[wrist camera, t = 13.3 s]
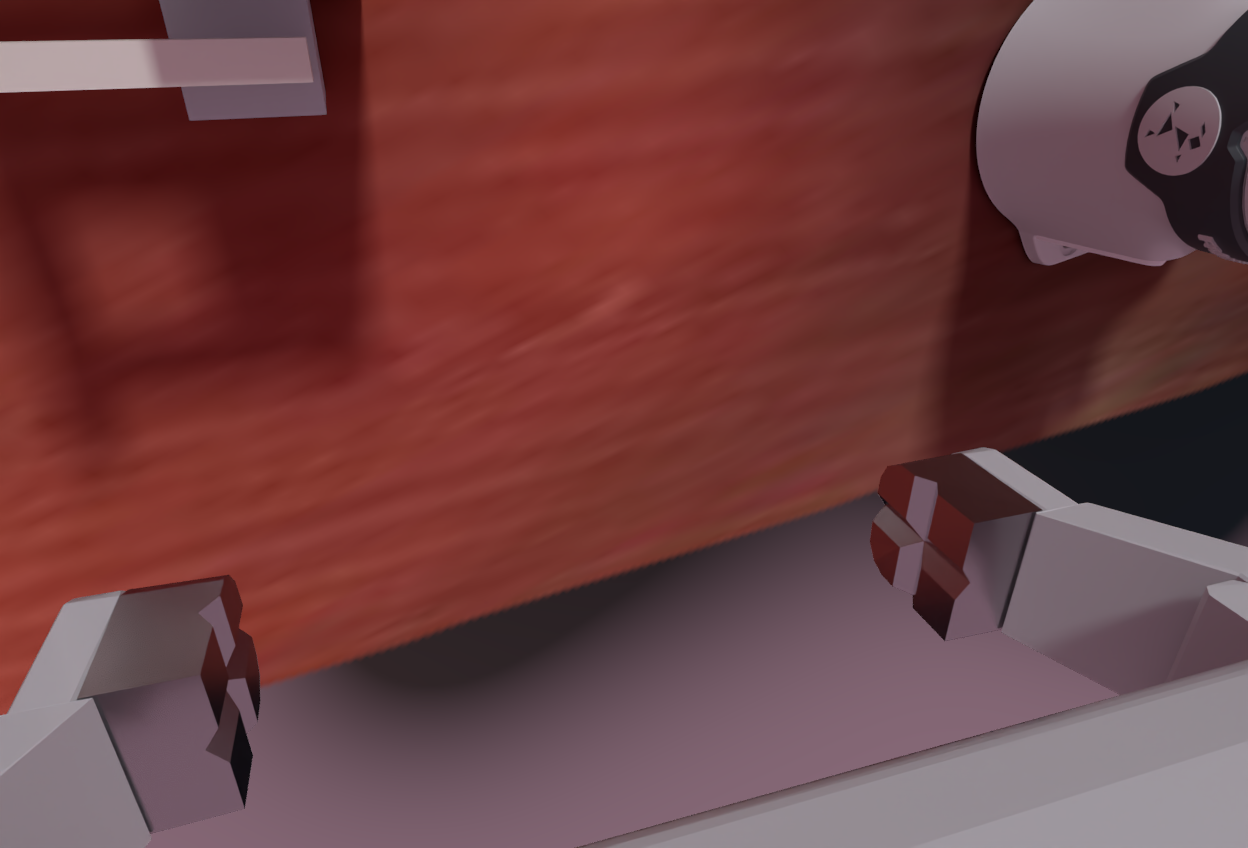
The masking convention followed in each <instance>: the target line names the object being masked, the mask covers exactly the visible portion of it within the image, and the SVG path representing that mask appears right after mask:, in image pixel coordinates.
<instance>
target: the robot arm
mask: <svg viewBox="0 0 1248 848" xmlns="http://www.w3.org/2000/svg"><path fill="white" fill-rule="evenodd" d="M976 150H977V161H978V167H979V172H980V176H981V179H982V183H983V185H984V188H985V190H986V192H987V194H988V196H989V198H990V200H991V201H992V203H993V204H994V205H995V207H996V208H997V209H998V210H999V211H1000V212H1001V213H1002V214H1003V215H1004V216H1005V217H1006V218H1008V219H1009V220H1010V221H1011V222H1012V223H1013V224H1014V225H1015V226H1016V228H1017V229H1018V230H1019V233H1020V237H1021V240H1022V244H1023V247H1024V249H1025V252H1026V254H1027V256H1028V258H1029V259H1030V260H1031V261H1032V262H1034V263H1038V264H1043V265H1054V264H1057V263H1060V262H1063V261H1066V260H1068V259H1071V258H1074V257H1077V256H1080V255H1082V254H1085V253H1088V252H1091V253H1096V254H1100V255H1104V256H1108V257H1113V258H1117V259H1121V260H1125V261H1130V262H1134V263H1138V264H1143V265H1148V266H1161V265H1163V264H1164V263H1165V262H1166V261H1167V260H1173V259H1177V258H1180V257H1183V256H1185V255H1187V254H1189V253H1191V252H1193V251H1195V250H1196V249H1197V250H1200V251H1204V252H1208V253H1212V254H1215V255H1217V256H1218V257H1220V258H1223V259H1226V260H1230V261H1234V262H1238V263H1243V264H1248V0H1034V1H1033V2H1032V3H1031V4H1030V6H1029V7H1028V8H1027V9H1026V10H1025V12H1024V13H1023V14H1022V15H1021V17H1020V18H1019V19H1018V21H1017V22H1016V24H1015V25H1014V27H1013V28H1012V30H1011V31H1010V33H1009V34H1008V36H1007V38H1006V40H1005V41H1004V43H1003V45H1002V47H1001V49H1000V51H999V53H998V55H997V57H996V59H995V61H994V64H993V66H992V68H991V71H990V74H989V76H988V79H987V82H986V85H985V88H984V92H983V96H982V100H981V104H980V109H979V115H978V122H977V134H976ZM878 494H879V496H880V498H881V499H882V501H883V503H884V504H885V506H884V507H883V508H882V510H881V511H880V512H879V513H878V515H877V516H876V517H875V519H874V520H873V523H872V530H871V538H870V544H871V548H872V553H873V558H874V561H875V563H876V565H877V567H878V569H879V571H880V573H881V574H882V576H883V577H884V578H885V579H886V580H887V581H888V582H889V583H890V584H891V585H892V586H893V587H895V588H897V589H900V590H902V591H904V592H907V593H909V594H912V595H913V609H914V610H915V611H916V612H917V613H918V614H919V615H920V616H921V617H922V618H923V619H924V620H925V621H926V622H927V623H928V624H929V625H930V626H931V627H932V628H933V629H934V630H935V631H936V632H937V633H938V634H939V636H941V638H942V639H943V640H944V641H948V640H953V639H957V638H963V637H967V636H972V635H977V634H982V633H987V632H992V631H996V630H1001V629H1002V631H1001V633H1003V634H1005V635H1007V636H1009V637H1011V638H1013V639H1015V640H1016V641H1018V642H1020V643H1022V644H1024V645H1026V646H1028V647H1030V648H1032V649H1033V650H1036V651H1037V652H1039V653H1041V654H1043V655H1045V656H1047V657H1049V658H1051V659H1053V660H1054V661H1056V662H1058V663H1060V664H1062V665H1064V666H1066V667H1068V668H1070V669H1072V670H1073V671H1075V672H1077V673H1079V674H1081V675H1083V676H1085V677H1087V678H1089V679H1090V680H1092V681H1094V682H1096V683H1098V684H1100V685H1102V686H1104V687H1106V688H1108V689H1109V690H1111V691H1113V692H1115V693H1117V694H1119V696H1116V697H1112V698H1108V699H1105V700H1101V701H1098V702H1094V703H1090V704H1087V705H1083V706H1080V707H1076V708H1073V709H1070V710H1066V711H1062V712H1058V713H1055V714H1051V715H1048V716H1044V717H1040V718H1037V719H1033V720H1030V721H1026V722H1023V723H1019V724H1015V725H1012V726H1008V727H1005V728H1001V729H998V730H994V731H990V732H987V733H983V734H980V735H976V736H973V737H970V738H965V739H962V740H958V741H955V742H952V743H948V744H944V745H940V746H937V747H934V748H930V749H926V750H923V751H919V752H915V753H912V754H909V755H905V756H901V757H898V758H894V759H891V760H887V761H884V762H880V763H876V764H873V765H869V766H865V767H862V768H859V769H855V770H851V771H847V772H844V773H840V774H837V775H833V776H830V777H826V778H822V779H819V780H815V781H812V782H809V783H805V784H801V785H797V786H794V787H790V788H787V789H783V790H780V791H776V792H772V793H769V794H765V795H762V796H758V797H755V798H751V799H747V800H744V801H740V802H737V803H733V804H730V805H726V806H722V807H719V808H715V809H712V810H708V811H704V812H701V813H697V814H694V815H691V816H687V817H683V818H680V819H676V820H673V821H669V822H665V823H662V824H658V825H655V826H651V827H647V828H644V829H640V830H637V831H634V832H630V833H626V834H623V835H619V836H615V837H612V838H608V839H605V840H602V841H598V842H594V843H591V844H587V845H583V846H580V847H577V848H1248V547H1244V546H1241V545H1237V544H1234V543H1230V542H1226V541H1223V540H1219V539H1216V538H1212V537H1209V536H1205V535H1202V534H1198V533H1195V532H1191V531H1187V530H1184V529H1180V528H1177V527H1173V526H1169V525H1166V524H1163V523H1159V522H1155V521H1151V520H1148V519H1145V518H1141V517H1137V516H1134V515H1130V514H1127V513H1123V512H1120V511H1116V510H1113V509H1109V508H1105V507H1102V506H1098V505H1095V504H1091V503H1083V504H1077V503H1076V502H1074V501H1073V500H1071V499H1070V498H1068V497H1067V496H1065V495H1064V494H1062V493H1061V492H1059V491H1058V490H1056V489H1055V488H1053V487H1052V486H1050V485H1048V484H1047V483H1045V482H1044V481H1042V480H1041V479H1039V478H1038V477H1036V476H1035V475H1033V474H1032V473H1030V472H1029V471H1027V470H1026V469H1024V468H1023V467H1021V466H1020V465H1018V464H1017V463H1015V462H1014V461H1012V460H1011V459H1009V458H1008V457H1006V456H1004V455H1003V454H1001V453H1000V452H998V451H997V450H995V449H990V448H985V447H982V448H977V449H972V450H967V451H962V452H957V453H952V454H951V455H946V456H940V457H935V458H929V459H924V460H918V461H913V462H907V463H902V464H897V465H891V466H887V468H886V469H885V471H884V473H883V474H882V476H881V479H880V484H879V489H878ZM242 607H243V604H242V601H241V598H240V595H239V592H238V588H237V585H236V582H235V581H234V580H233V579H232V577H231V576H230V575H224V576H218V577H211V578H204V579H197V580H190V581H184V582H177V583H170V584H163V585H157V586H150V587H143V588H136V589H129V590H127V591H116V592H110V593H104V594H98V595H92V596H86V597H80V598H75V599H73V600H71V601H69V602H67V603H66V604H64V605H63V607H62V608H61V610H60V612H59V614H58V616H57V618H56V620H55V621H54V623H53V625H52V627H51V629H50V631H49V633H48V635H47V637H46V639H45V641H44V643H43V645H42V647H41V649H40V650H39V652H38V654H37V656H36V658H35V660H34V662H33V664H32V666H31V668H30V670H29V672H28V674H27V676H26V678H25V680H24V681H23V683H22V685H21V687H20V689H19V691H18V693H17V695H16V697H15V699H14V701H13V703H12V705H11V707H10V709H9V711H8V712H7V714H6V715H1V716H0V848H145V847H146V846H147V844H148V843H149V842H150V840H151V839H152V838H151V835H150V834H152V833H156V832H159V831H163V830H167V829H171V828H175V827H178V826H182V825H186V824H190V823H193V822H197V821H201V820H205V819H208V818H212V817H216V816H220V815H223V814H227V813H231V812H234V811H238V810H242V809H245V804H246V797H247V791H248V784H249V778H250V771H251V765H252V758H253V754H252V751H251V747H250V744H249V741H248V737H247V733H248V732H249V731H250V730H251V729H252V728H253V727H254V726H255V725H256V723H257V722H258V715H259V707H260V673H259V667H258V661H257V654H256V651H255V647H254V643H253V639H252V637H251V636H250V635H248V634H247V633H245V632H244V631H242V630H241V629H239V624H240V618H241V613H242Z"/></svg>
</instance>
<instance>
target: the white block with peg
mask: <svg viewBox="0 0 1248 848" xmlns="http://www.w3.org/2000/svg"><path fill="white" fill-rule="evenodd" d="M159 2H160V6H161V10H162V14H163V18H164V22H165V26H166V29H167V33H168V37H169V39H184V38H244V37H304V36H306V38H307V44H308V49H309V55H310V61H311V66H312V72H313V77H314V81H313V82H310V83H280V84H249V85H218V86H188V87H181V89H182V93H183V97H184V101H185V105H186V109H187V113H188V116H189V120H190V121H195V120H218V119H241V118H264V117H287V116H310V115H327V110H326V92H325V86H324V80H323V75H322V69H321V63H320V57H319V52H318V46H317V40H316V34H315V28H314V23H313V17H312V11H311V5H310V0H159Z"/></svg>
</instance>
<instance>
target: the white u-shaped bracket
mask: <svg viewBox="0 0 1248 848" xmlns="http://www.w3.org/2000/svg"><path fill="white" fill-rule="evenodd" d="M313 81H314V77H313V72H312V66H311V61H310V55H309V49H308V44H307V38H306V36H304V37H244V38H184V39H124V40H65V41H5V42H0V93H4V92H35V91H65V90H96V89H127V88H157V87H188V86H218V85H249V84H280V83H310V82H313Z"/></svg>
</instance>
